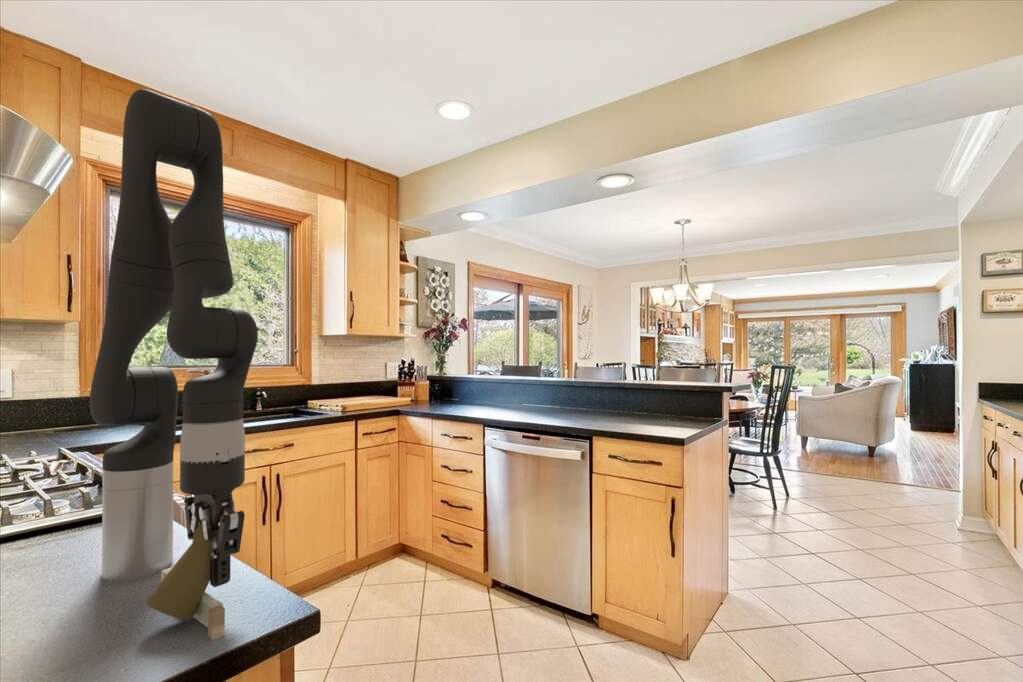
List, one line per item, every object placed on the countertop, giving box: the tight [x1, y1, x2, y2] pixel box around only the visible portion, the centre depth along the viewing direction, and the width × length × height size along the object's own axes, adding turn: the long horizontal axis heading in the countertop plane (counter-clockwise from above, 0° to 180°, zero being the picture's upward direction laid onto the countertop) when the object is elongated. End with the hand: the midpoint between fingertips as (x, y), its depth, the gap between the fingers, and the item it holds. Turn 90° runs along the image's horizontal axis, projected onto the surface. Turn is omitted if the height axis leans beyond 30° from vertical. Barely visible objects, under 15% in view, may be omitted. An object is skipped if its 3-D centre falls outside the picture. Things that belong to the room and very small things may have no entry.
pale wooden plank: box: [160, 566, 226, 641], centre depth 65 cm, size 18×1×4 cm, turn 52°
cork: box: [144, 523, 227, 620], centre depth 64 cm, size 6×6×11 cm
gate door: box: [193, 591, 224, 629], centre depth 65 cm, size 11×1×3 cm, turn 55°
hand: (212, 577), depth 66 cm, fingers closed on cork, 4 cm apart
